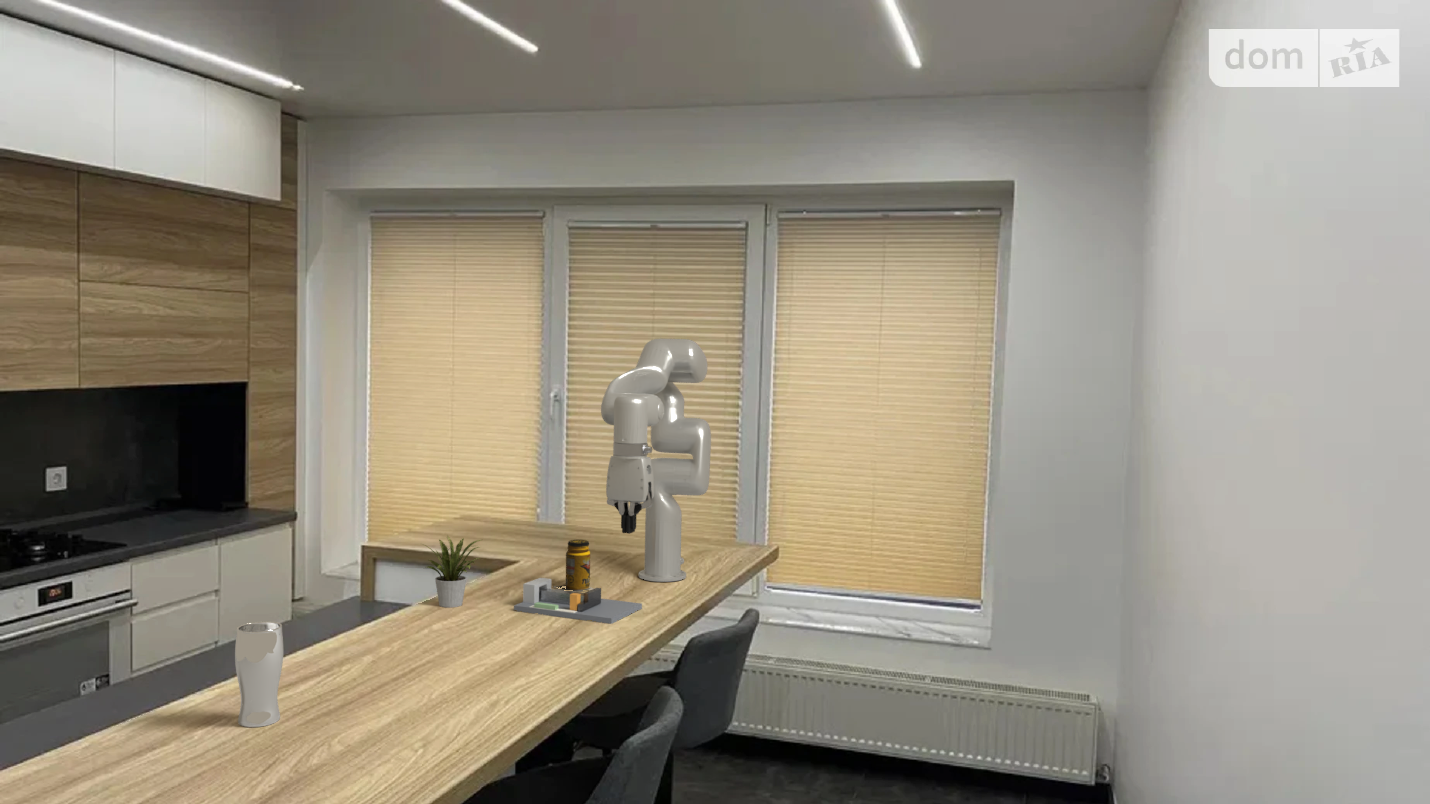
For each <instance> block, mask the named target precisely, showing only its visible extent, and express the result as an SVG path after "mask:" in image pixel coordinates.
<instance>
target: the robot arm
mask: <svg viewBox="0 0 1430 804" xmlns="http://www.w3.org/2000/svg"><path fill="white" fill-rule="evenodd" d="M707 375H708V360H707V356H706V354H705V352H704V351H703V349H702V348H701V347H700V345H699V344H698V343H697V342H696V341H694V340H692V339H689V338H687V339H686V338H654V339H651V340H649V341H647V343H646V344H645V345H644V347H643V348H642V351H641V352H640V356H639V359H638V362H637V363H636V365H635V368H631V369H630V370H628V371H626V372H624V373H622V374H621V375H618V376H617V377H615V378H614V379H612V381H611V382H610V383H609V384H608V386H607V388H606V390H605V392H604V395H603V398H602V401H601V403H600V404H601V405H600V414H601V415H600V416H601V418H602V420H603V422H604V423H605V424H607V425H610V426H613V445H612V454H613V455H611V456H610V459H609V462H608V468H607V474H606V485H605V486H606V487H605V488H606V489H605V491H606V493H605V494H606V497H607V499H606V504H607V505H608V506H612V507H614V508H615V509H616V510H617V511H618V514H619V516H620V517H621V518H620V527H621V533H622V534H633V533H635V531H636V529H637V515H638V514H639V513H640V512H641V511H642V509H643V510H644V509H645V521H644V522H645V525H644V569H642V570H640V571H639V572H638V578H639V579H641V580H643V579H644V581H650V582H655V583H657V582H658V583H663V582H664V583H665V582H666V583H667V582H679V581H682V579H683V580H684V579H686V578H687V572H686V571H685V570H681V566H682V565H683V564H684V563H685V559H684V557H683V556H682V516H683V514H682V510H681V509H682V508H681V507H680V505H679V503H678V502H677V500H676V498H674V496H677V495H678V496H703V495H704V494H705V493H707V491H708V489H709V487H710V486H709V485H710V476H711V473H710V471H711V450H712V434H711V432H712V431H711V428H710V424H709V422H708V421H707V420H706V419H704V418H700V417H699V418H697V417H685V398H684V396H683V394H682V392H681V390H680V389H679V387H677V386H676V384H675V383H680V384H682V383H683V384H684V383H686V384H689V383H690V384H698V383H701V382H703V381H704V380H705V378H706V376H707ZM648 427H650V444H651V446H649V443H648ZM653 450H654V451H656V452H659V453H664V454H665V453H666V454H681V455H682V454H685V455H686V454H688V455H691V456H692V458H677V457H657V458H656V457H655V458H651V457H648V454H651V453H652V452H653Z"/></svg>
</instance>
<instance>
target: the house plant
mask: <svg viewBox="0 0 1430 804" xmlns="http://www.w3.org/2000/svg"><path fill="white" fill-rule="evenodd" d="M446 539H447V540H448V544H449V547H450V548H448V546H447V545H446V544H445V543H444V541H443V540H441V539H440V538H439V539H438V542H439V544H440V545H439V546H440V548H441V554H442V556H441V555H440V553H439V552H438V551H437V550H433V549H432V548H430V547H429V546H427V545H425V544H422V543H421V545H422V546H425V547H426V548H428V549H429V550H431V552H432V553H434V555H435V556H436V557H437V559H438V560H439V561H440V564H439V563H438V562H436V561H434V560H432V559H428V561H429V562H431V564H432V565H433V566H431V565H427V566H426V568H429V569H430V570H433V571H436V572H437V573H438V575H439V576H437V577H435V579H434V580H435V586H436V592H437V593H436V594H437V599H438V605H439V607H441V608H457V607H461V606H463V603H464V596H465V591H466V584H467V576H465V575H462V574H463V572H465V573H468V572H467V568H468V569H469V570H470V568H471V565H470V564H472V563H473V564H474V565H475V564H476V563H475V562H474V561H476V560H480V559H481V557H479V558H474V559H472V560H466V559H467V557H468V556H469V555H470V554H471V553H472V552H473V551H474V550H476V549H479V548H481V546H475V547H474V548H473V546H474V544H475V543H477V542H480V541H482V539H477V540H474V541H472V542H470V543H469V544H468V545H467V546H466V547H465V548H464V549H463V551H462V548H463V547H464V546H463V545H464V540H465V538H464V537H462V538H461V539H460V540H459V542H458V543H457V544H456V546H455V547H454V543H453V541H452V539H451V537H449V535H446ZM471 547H472V549H471V550H469V548H471ZM449 550H450V553H449ZM467 550H469V551H468V553H467ZM461 552H462V553H461ZM466 553H467V554H466ZM465 554H466V556H465V557H464V559H463V560H462V558H463V556H464V555H465ZM461 560H462V562H460V561H461ZM459 563H460V564H459ZM466 563H467V564H466ZM465 564H466V565H465ZM434 566H435V567H436V568H435V567H434ZM441 573H442V574H441Z"/></svg>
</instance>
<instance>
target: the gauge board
mask: <svg viewBox="0 0 1430 804" xmlns="http://www.w3.org/2000/svg"><path fill="white" fill-rule="evenodd" d="M522 588H523V589H522V590H523V591H522V598H523V599H522V602H519V603H516V604H514V605H513V611H514V610H517V611H516V612H520V611H522V612H521V613H527V612H528V613H529V614H535V613H538V614H537V615H542V614H543V616H549V617H558V618H564V617H565V619H573V620H579V619H580V620H581V621H587V620H592V621H591V622H594V621H596V622H595V623H601V622H602V624H610V625H612V624H614V623H616V622H618V621H619V620H621V619H624V618H626V617H628V616H631V615H632V614H634V613H636V612H638V611H641V610H643V603H640V602H633V601H624V600H616V599H607V598H601V604H598V605H596V606H594V607H592V608H589V609H587V610H585V611H583V612H581V611H578V610H577V611H575V610H570V604H562V603H555V602H547V601H539V588H547V589H552V578H547V577H539V578H535V579H534V580H530V581H527V582H524V583H523V584H522ZM637 610H638V611H637ZM635 611H636V612H635ZM631 613H632V614H631ZM623 617H624V618H623ZM617 620H618V621H617Z"/></svg>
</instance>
